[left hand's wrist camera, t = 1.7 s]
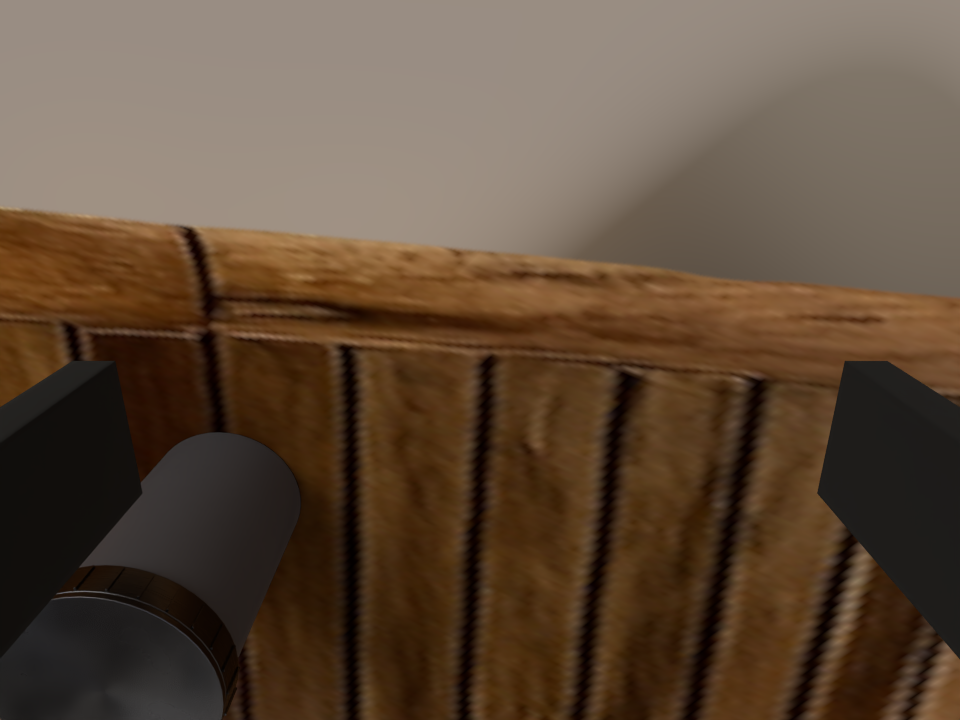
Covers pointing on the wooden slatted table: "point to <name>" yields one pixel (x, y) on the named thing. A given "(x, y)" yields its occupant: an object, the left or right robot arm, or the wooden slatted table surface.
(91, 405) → the left robot arm
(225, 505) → the jar
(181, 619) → the lid
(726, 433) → the wooden slatted table surface
